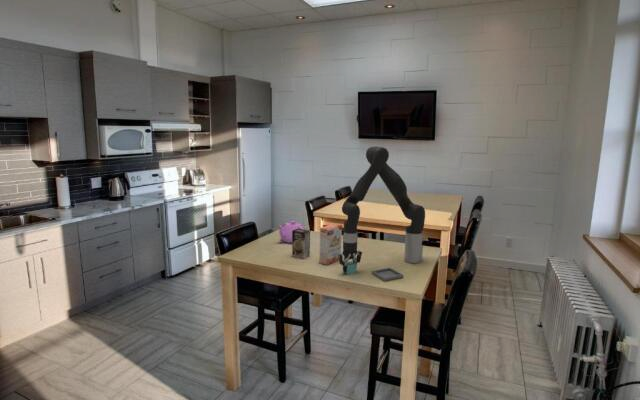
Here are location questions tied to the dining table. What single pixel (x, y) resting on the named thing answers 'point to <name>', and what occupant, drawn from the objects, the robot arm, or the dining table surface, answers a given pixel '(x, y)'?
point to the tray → (387, 274)
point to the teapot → (288, 230)
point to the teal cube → (351, 268)
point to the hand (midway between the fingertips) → (349, 271)
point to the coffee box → (301, 243)
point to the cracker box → (330, 243)
